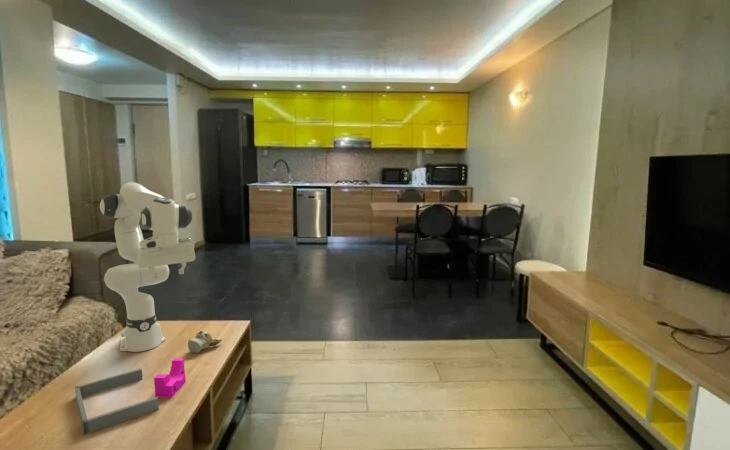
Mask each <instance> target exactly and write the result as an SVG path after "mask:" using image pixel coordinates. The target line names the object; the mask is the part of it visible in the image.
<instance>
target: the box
mask: <svg viewBox="0 0 730 450" xmlns="http://www.w3.org/2000/svg"><path fill="white" fill-rule="evenodd" d="M141 380H143V370H142V368H138V369H135V370H130V371H127V372H123V373H120V374H116V375H112V376H109V377H106V378H101V379H98V380H95V381H91V382H87V383H83V384H80V385H77V386H75V387H74V389H75V392H74V393H75V398H76V399H75V400H76V403H77V407H78V412H79V416H80V422H81V424H82V426H81V427H82V430H83V433H84V435H88V434H91V433H93V432H96V431H98V430H102V429H105V428H108V427H111V426H113V425H117V424H119V423H123V422H126V421H128V420H132V419H135V418H136V417H139V416H140V417H141V416H142V415H145V414H146V415H147V414H149V413H151V412H154V411H158V410H160V404H159V397H155V396H154V397H151V398H149V399H147V400H143V401H139V402H137V403H134V404H131V405H128V406H125V407H122V408H119V409H115V410H112V411H109V412H106V413H103V414H101V415H97V416H94V417H91V418H88V417H87V413H86V408H85V404H84V400H83V397H87V396H90V395H93V394H97V393H101V392H103V391H107V390H110V389H114V388H118V387H120V386H121V387H122V386H124V385H128V384H131V383H134V382H137V381H141Z"/></svg>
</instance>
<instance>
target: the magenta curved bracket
mask: <svg viewBox="0 0 730 450" xmlns="http://www.w3.org/2000/svg"><path fill="white" fill-rule="evenodd" d="M185 372H186V371H185V358H183V357H181V358H180V357H179V358H178V357H174V358H173V359H172V360H171V367H170V371H169V373H167V374H166V373H165V374H164V373H158V374H156V375H155V376H154V377H153V384H154V397H155V396H156V397H157V396H158V398H173V397H174V396H175V395H176V394H177V393H178V391H179V390H180V389H181V388H182V387H183V386H184V385H185V383H187V382H186V373H185ZM183 384H184V385H183ZM182 385H183V386H182ZM176 392H177V393H176ZM175 393H176V394H175Z"/></svg>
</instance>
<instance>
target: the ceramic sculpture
mask: <svg viewBox="0 0 730 450" xmlns="http://www.w3.org/2000/svg"><path fill="white" fill-rule="evenodd" d="M222 341H223V338H221V339H216V338H214V339H213V336H212V334H210V333H209V332H208V331H207V332H206V331H202V330H201V331H199V332H197V333H196V336H195V337H194V338H191V339H188V341H187V342H188V343H187V348H188V350H189V351H190V352H191V353H192V354H199V353H200V352H201V350H205V349H208V348H210V347H215V346H217V345H219V343H221V342H222Z"/></svg>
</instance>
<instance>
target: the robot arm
mask: <svg viewBox="0 0 730 450" xmlns="http://www.w3.org/2000/svg"><path fill="white" fill-rule="evenodd" d="M99 209H100V213H101V215H102V216H103V217H104V218H108V219H114V218H115V219H116V220H115V223H114V236H115V237H114V238H115V242H116V247H117V252H118V254H119V256H120V257H121V258H122V259H124V260H128V261H130V262H132V263H127V264H119V265H116V266H113V267H110V268H108V269H107V270H106V272H105V274H104V277H103V281H104V283H105V286H106V287H107V288H108V289H110V290H111V291H114V292H115V293H117V294H119V295H120V297H121V298H122V300H124V305H125V308H126V309H125V310H126V320H125V322H126V327H125V330H124V331H122V332H120V334H121V338H120V346H119V351H120V352H131V353H132V352H133V353H135V352H139V353H140V352H145V351H148V350H152V349H154V348H157V347H159V345H160V344H162V343H163V342H164V341H166V337H164V336H163V335H162V331H161V330H162V328H161V324H159V323H158V322H157V314H156V312H155V301H154V298H153V296H152V295H150V294H148V293H145V292H141V291H139V288H142V287H147V286H152V285H158V284H160V283H163V282H165V281H167V280H168V279H169V276H170V267H169V265H175V264H176V265H177V264H180V265H181V267H180V268H179V269H178V274H179V275H184V274H185V271H184V270H185V269H186V266H187V263H190V262H194V261H195V260H196V253H195V246H196V245H195V241H194V239H192V238H188V237H187V238H179V230H178V229H186V228H187V227H188V226H189V225H190V224H191V222H192V220H193V213H192V211H191V209H190V207H189V206H187V205H186V204H185V203H179V202H177V201H174V199H172V198H169V197H166V196H164V195H161V194H159V193H157V192H154V191H152V190H150V189H148V188H146V187H145V186H144V185H142V184H141V183H138V182H133V181H132V182H131V181H130V182H129V181H128V182H126V183H124V184H123V185H122V186H121V188H120V189H119V194H118V193H116V194H115V193H113V192H112V193H110V194H107V195H105V196H103V197H102V198H101V199H100V203H99ZM140 223H141V225H140ZM140 226H142V227H143V228H144V229H146V230H147V231H148V230H149V231H152V236H151V237H148V238H146V239H144V235H143V231H142V229H141V227H140Z"/></svg>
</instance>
